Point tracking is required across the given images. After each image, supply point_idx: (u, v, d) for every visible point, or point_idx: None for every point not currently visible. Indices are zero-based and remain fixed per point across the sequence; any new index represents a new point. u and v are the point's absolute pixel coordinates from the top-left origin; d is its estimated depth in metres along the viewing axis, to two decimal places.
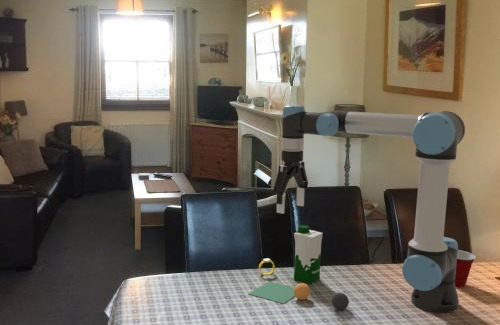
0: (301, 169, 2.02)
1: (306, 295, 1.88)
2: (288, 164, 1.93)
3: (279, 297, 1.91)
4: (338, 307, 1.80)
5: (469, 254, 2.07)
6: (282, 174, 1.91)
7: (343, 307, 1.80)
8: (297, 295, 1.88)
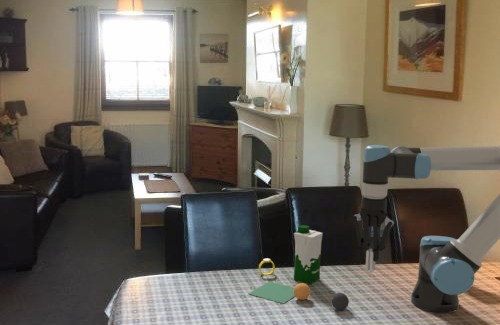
0: None
1: (306, 295, 1.88)
2: None
3: (279, 297, 1.91)
4: (338, 307, 1.80)
5: None
6: None
7: (343, 307, 1.80)
8: (297, 295, 1.88)
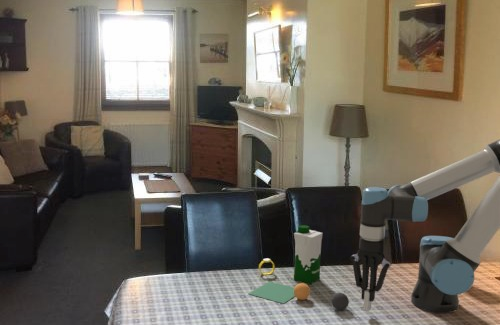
0: None
1: (306, 295, 1.88)
2: None
3: (279, 297, 1.91)
4: (338, 307, 1.80)
5: None
6: None
7: (343, 307, 1.80)
8: (297, 295, 1.88)
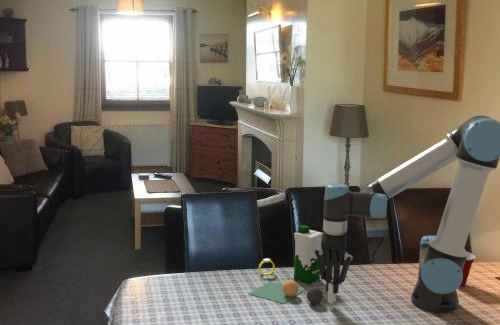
0: None
1: (289, 283, 1.91)
2: None
3: (279, 297, 1.91)
4: (310, 294, 1.85)
5: (469, 254, 2.07)
6: None
7: (308, 292, 1.86)
8: (288, 292, 1.90)
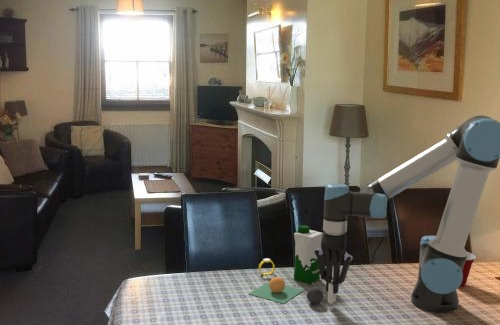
0: None
1: (269, 285, 1.95)
2: (321, 246, 1.83)
3: (279, 297, 1.91)
4: (310, 294, 1.85)
5: (469, 254, 2.07)
6: None
7: (308, 292, 1.86)
8: (273, 285, 1.93)
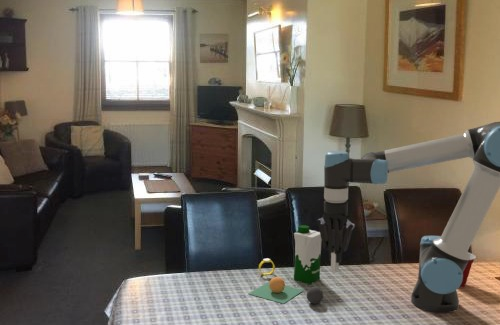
0: None
1: (269, 285, 1.95)
2: None
3: (279, 297, 1.91)
4: (310, 294, 1.85)
5: (469, 254, 2.07)
6: None
7: (308, 292, 1.86)
8: (273, 285, 1.93)
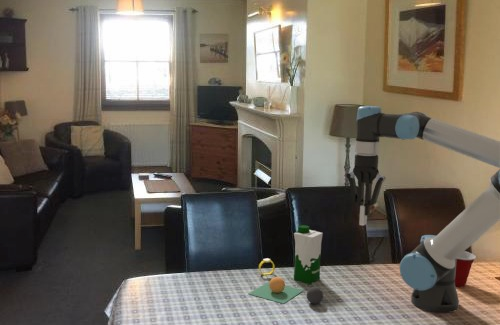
0: None
1: (269, 285, 1.95)
2: None
3: (279, 297, 1.91)
4: (310, 294, 1.85)
5: (469, 254, 2.07)
6: None
7: (308, 292, 1.86)
8: (273, 285, 1.93)
